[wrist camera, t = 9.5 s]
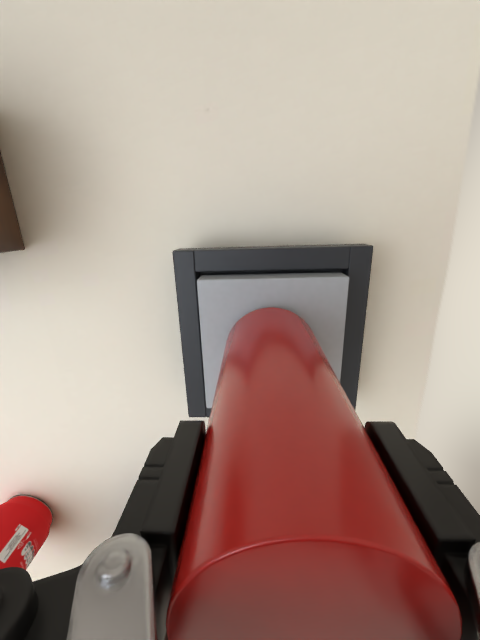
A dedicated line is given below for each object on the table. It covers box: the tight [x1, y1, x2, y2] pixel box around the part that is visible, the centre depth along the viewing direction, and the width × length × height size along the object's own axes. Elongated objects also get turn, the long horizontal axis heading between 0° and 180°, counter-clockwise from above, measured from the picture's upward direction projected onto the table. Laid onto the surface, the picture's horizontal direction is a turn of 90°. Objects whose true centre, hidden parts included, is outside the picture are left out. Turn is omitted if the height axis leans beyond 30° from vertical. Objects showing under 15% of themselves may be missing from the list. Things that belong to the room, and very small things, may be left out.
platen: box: [197, 272, 349, 408], centre depth 17 cm, size 8×8×2 cm
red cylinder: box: [166, 307, 463, 640], centre depth 11 cm, size 5×5×12 cm
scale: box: [173, 244, 373, 417], centre depth 19 cm, size 11×11×3 cm
